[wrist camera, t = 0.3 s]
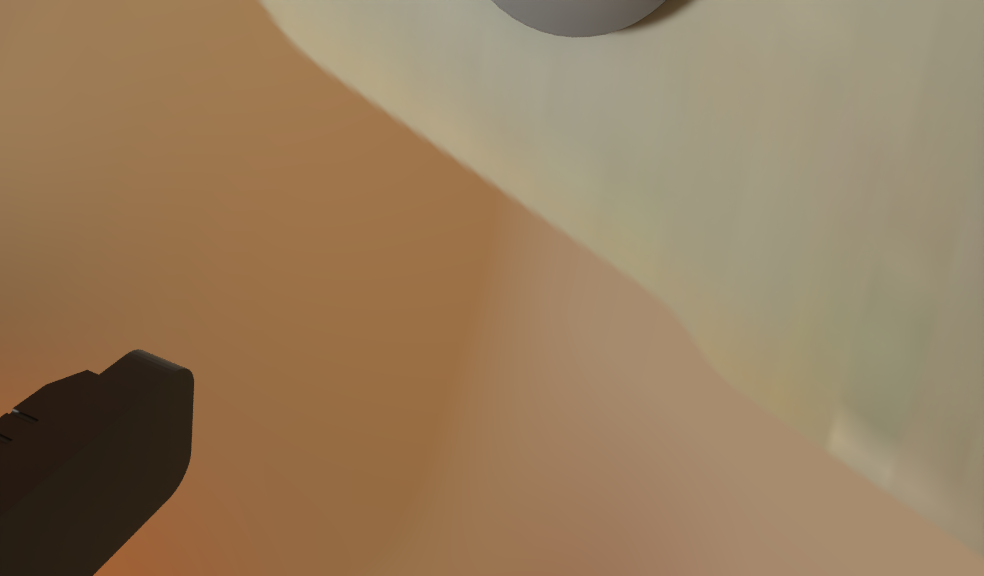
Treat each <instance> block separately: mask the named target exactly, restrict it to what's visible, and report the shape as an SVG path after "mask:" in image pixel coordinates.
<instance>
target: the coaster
mask: <svg viewBox="0 0 984 576" xmlns="http://www.w3.org/2000/svg"><path fill="white" fill-rule="evenodd" d="M492 1H493V2H494V3H495V4H496V5H497V6H498V7H499V8H500V9H502V10H503V11H504V12H506V13H507V14H508V15H510V16H511V17H512V18H514V19H516V20H518V21H519V22H521V23H523V24H525V25H527V26H529V27H531V28H534V29H536V30H539V31H541V32H545V33H549V34H553V35H557V36H566V37H591V36H597V35H604V34H608V33H611V32H614V31H617V30H621V29H623V28H625V27H627V26H629V25H632V24H634V23H636V22H638V21H639V20H641V19H642V18H644V17H646V16H647V15H649V14H650V13H652V12H653V11H654V10H655V9H656V8H658V7H659V6H660V5H661V4H662V3H664V2H665V1H666V0H492Z"/></svg>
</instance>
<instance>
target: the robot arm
mask: <svg viewBox="0 0 984 576" xmlns="http://www.w3.org/2000/svg"><path fill="white" fill-rule="evenodd" d="M193 395H194V378H193V374H192V372H191V371H190V370H188V369H186V368H184V367H182V366H179V365H177V364H174V363H172V362H169V361H167V360H165V359H162V358H160V357H158V356H155V355H153V354H150V353H148V352H145V351H143V350H134V351H132V352H129V353H128V354H126V355H125V356H124V357H122V358H121V359H119V360H118V361H117V362H115V363H114V364H113V365H111V366H110V367H109V368H107V369H106V370H105V371H103V372H102V373H101V374H99V375H98V374H96V373H93V372H91V371H89V370H86V371H83V372H80V373H77V374H74V375H72V376H69V377H66V378H64V379H61V380H58V381H55V382H52V383H50V384H47V385H45V386H43V387H42V388H41V389H39V390H38V391H36V392H35V393H34V394H32V395H31V396H29V397H28V398H27V399H25V400H24V401H22V402H21V403H20V404H18V405H17V406H15V407H14V408H13V411H12V412H11V413H10V414H8V413H6V414H4V415H3V416H1V417H0V576H93V575H94V574H95V573H96V572H97V571H98V570H99V569H100V568H101V567H102V566H103V565H104V564H105V563H106V562H107V561H108V560H109V559H110V558H111V557H112V556H113V555H114V554H115V553H116V552H117V551H118V550H119V549H120V548H121V547H122V546H123V545H124V544H125V543H126V542H127V541H128V539H130V537H131V536H132V535H134V533H135V532H136V531H137V530H138V529H139V528H140V527H141V526H142V525H143V524H144V523H145V522H146V521H147V520H148V519H149V518H150V517H151V516H152V515H153V514H154V513H155V512H156V511H157V510H158V509H159V508H160V507H161V506H162V505H163V504H164V503H165V502H166V501H167V500H168V499H169V498H170V497H171V496H172V495H173V493H174V492H175V491H176V489H177V487H178V486H179V485H180V483H181V481H182V479H183V477H184V475H185V473H186V470H187V468H188V465H189V462H190V456H191V442H192V419H193Z"/></svg>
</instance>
